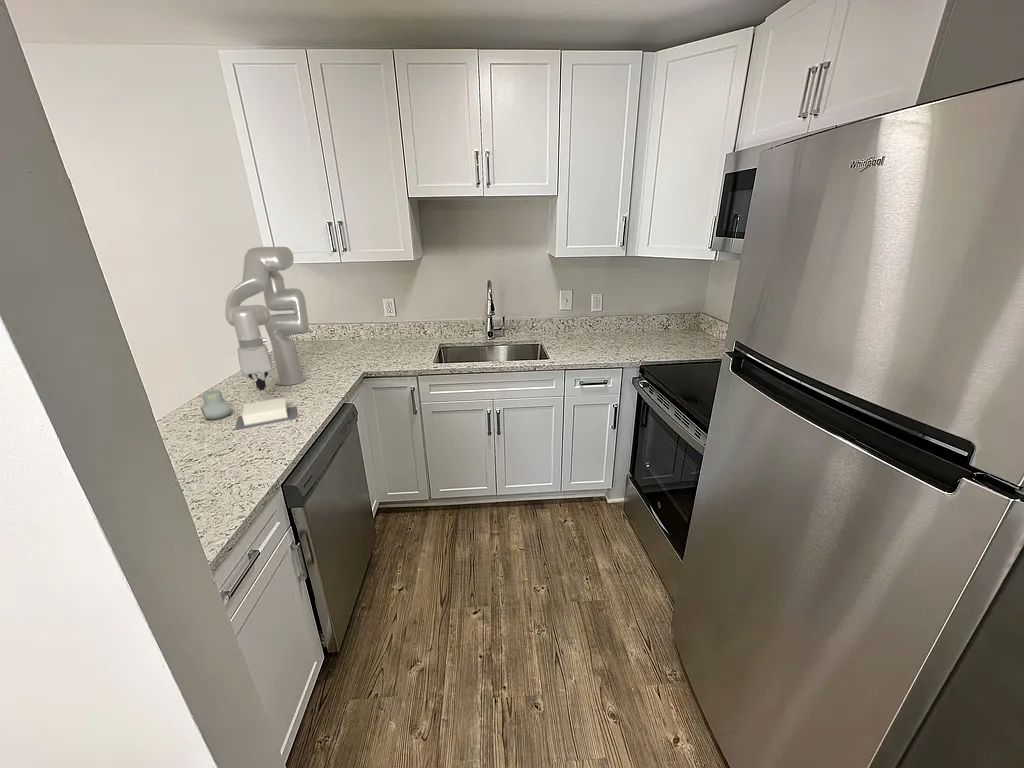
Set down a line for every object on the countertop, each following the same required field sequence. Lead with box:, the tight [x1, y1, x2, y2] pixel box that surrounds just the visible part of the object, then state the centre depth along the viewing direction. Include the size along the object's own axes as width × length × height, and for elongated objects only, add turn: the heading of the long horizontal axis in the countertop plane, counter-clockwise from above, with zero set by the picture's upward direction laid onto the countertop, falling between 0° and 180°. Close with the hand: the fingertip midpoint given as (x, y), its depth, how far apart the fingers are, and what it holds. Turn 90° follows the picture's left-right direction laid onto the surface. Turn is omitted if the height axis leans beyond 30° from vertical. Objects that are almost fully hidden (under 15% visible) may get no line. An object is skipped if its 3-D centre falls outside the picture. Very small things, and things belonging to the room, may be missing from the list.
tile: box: [241, 397, 289, 426], centre depth 160 cm, size 4×14×12 cm
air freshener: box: [200, 389, 232, 421], centre depth 161 cm, size 11×8×10 cm
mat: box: [234, 405, 298, 431], centre depth 160 cm, size 12×20×1 cm, turn 117°
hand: (262, 389), depth 162 cm, fingers closed
